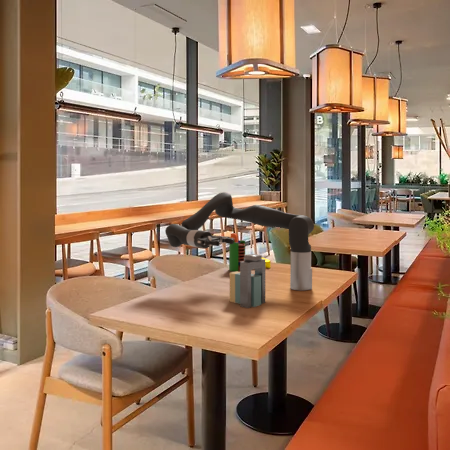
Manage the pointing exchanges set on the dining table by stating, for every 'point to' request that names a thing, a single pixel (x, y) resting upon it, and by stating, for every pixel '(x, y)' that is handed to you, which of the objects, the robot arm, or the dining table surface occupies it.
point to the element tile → (267, 263)
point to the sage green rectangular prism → (254, 288)
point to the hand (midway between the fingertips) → (226, 242)
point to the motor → (236, 253)
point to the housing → (245, 278)
